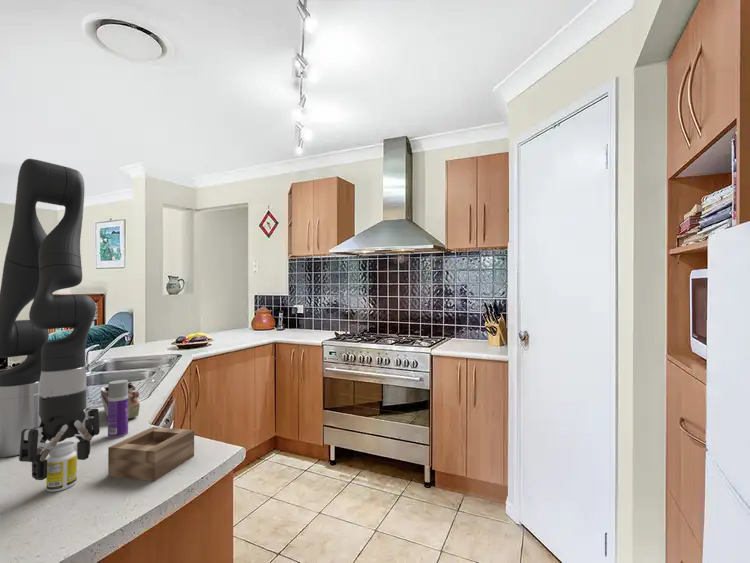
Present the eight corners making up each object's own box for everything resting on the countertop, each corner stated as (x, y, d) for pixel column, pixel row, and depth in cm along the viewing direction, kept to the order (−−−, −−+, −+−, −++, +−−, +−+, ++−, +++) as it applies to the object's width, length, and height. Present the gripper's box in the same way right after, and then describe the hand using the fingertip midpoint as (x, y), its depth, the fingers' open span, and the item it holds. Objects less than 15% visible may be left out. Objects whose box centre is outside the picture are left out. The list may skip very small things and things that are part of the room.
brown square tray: (108, 477, 79) (108, 447, 79) (152, 453, 91) (152, 426, 91) (155, 482, 77) (155, 451, 77) (194, 456, 88) (194, 430, 89)
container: (130, 434, 102) (130, 381, 102) (109, 440, 98) (110, 384, 99) (125, 430, 105) (126, 378, 106) (105, 435, 102) (106, 381, 102)
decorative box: (86, 429, 106) (86, 396, 107) (89, 412, 122) (89, 383, 123) (139, 419, 114) (140, 389, 114) (135, 404, 130) (136, 377, 130)
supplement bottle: (73, 477, 78) (74, 438, 79) (79, 485, 75) (79, 444, 76) (44, 487, 75) (44, 446, 75) (48, 495, 72) (49, 452, 72)
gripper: (81, 381, 83) (81, 452, 83) (9, 399, 69) (7, 485, 69) (109, 382, 82) (109, 454, 81) (41, 400, 68) (40, 488, 67)
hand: (62, 468), depth 75 cm, fingers open, 8 cm apart
